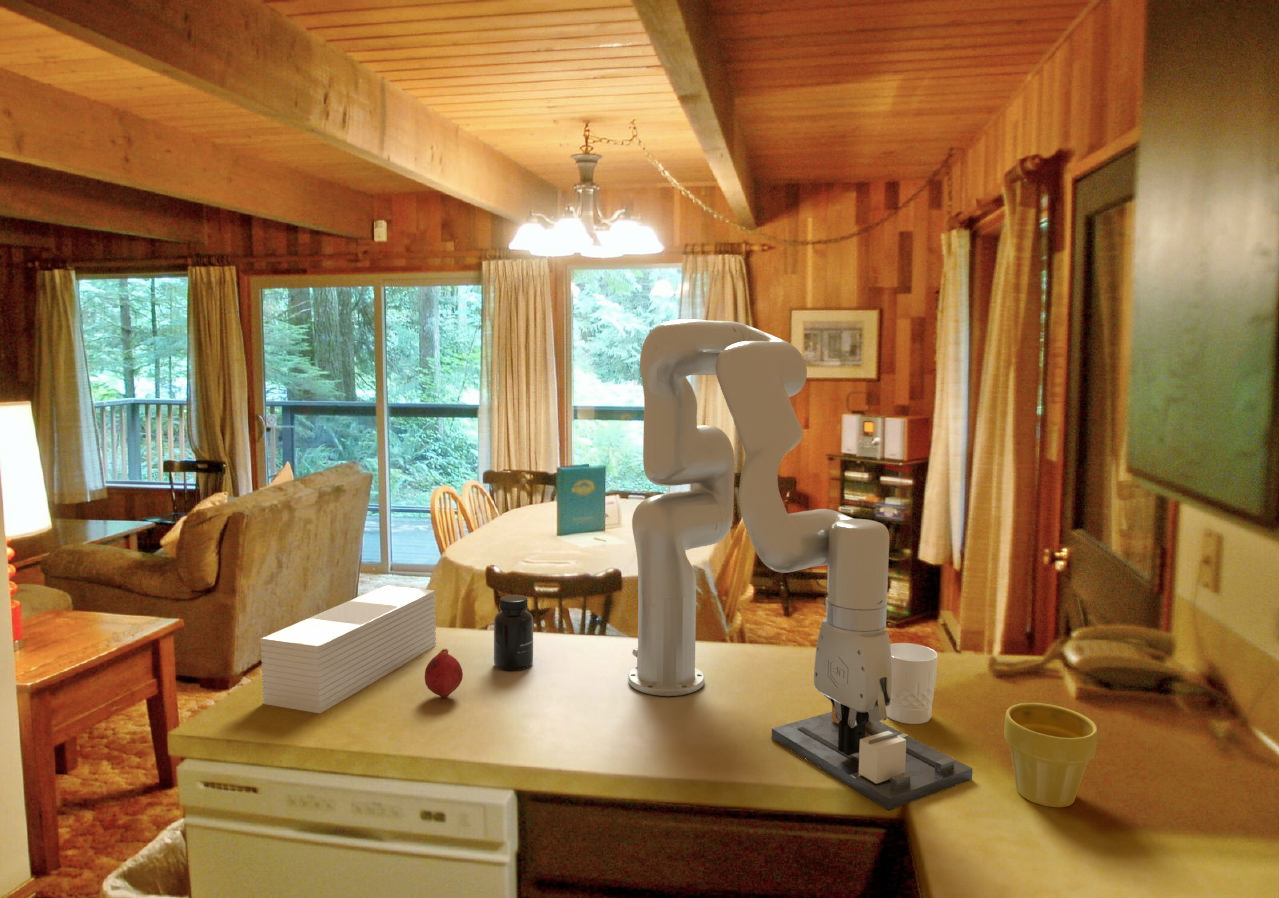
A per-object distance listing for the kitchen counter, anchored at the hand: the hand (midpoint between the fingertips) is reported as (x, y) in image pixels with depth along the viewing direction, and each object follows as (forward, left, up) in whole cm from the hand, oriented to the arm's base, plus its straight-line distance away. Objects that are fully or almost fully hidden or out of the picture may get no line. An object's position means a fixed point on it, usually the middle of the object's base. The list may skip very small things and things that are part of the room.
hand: (851, 750), depth 111 cm
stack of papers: (-67, -49, -3) cm, 83 cm away
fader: (+5, 0, -1) cm, 5 cm away
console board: (-1, +4, -3) cm, 5 cm away
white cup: (-8, +20, -3) cm, 21 cm away
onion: (-49, -39, -3) cm, 63 cm away
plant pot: (+17, +17, -3) cm, 24 cm away
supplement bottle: (-57, -24, -3) cm, 62 cm away
